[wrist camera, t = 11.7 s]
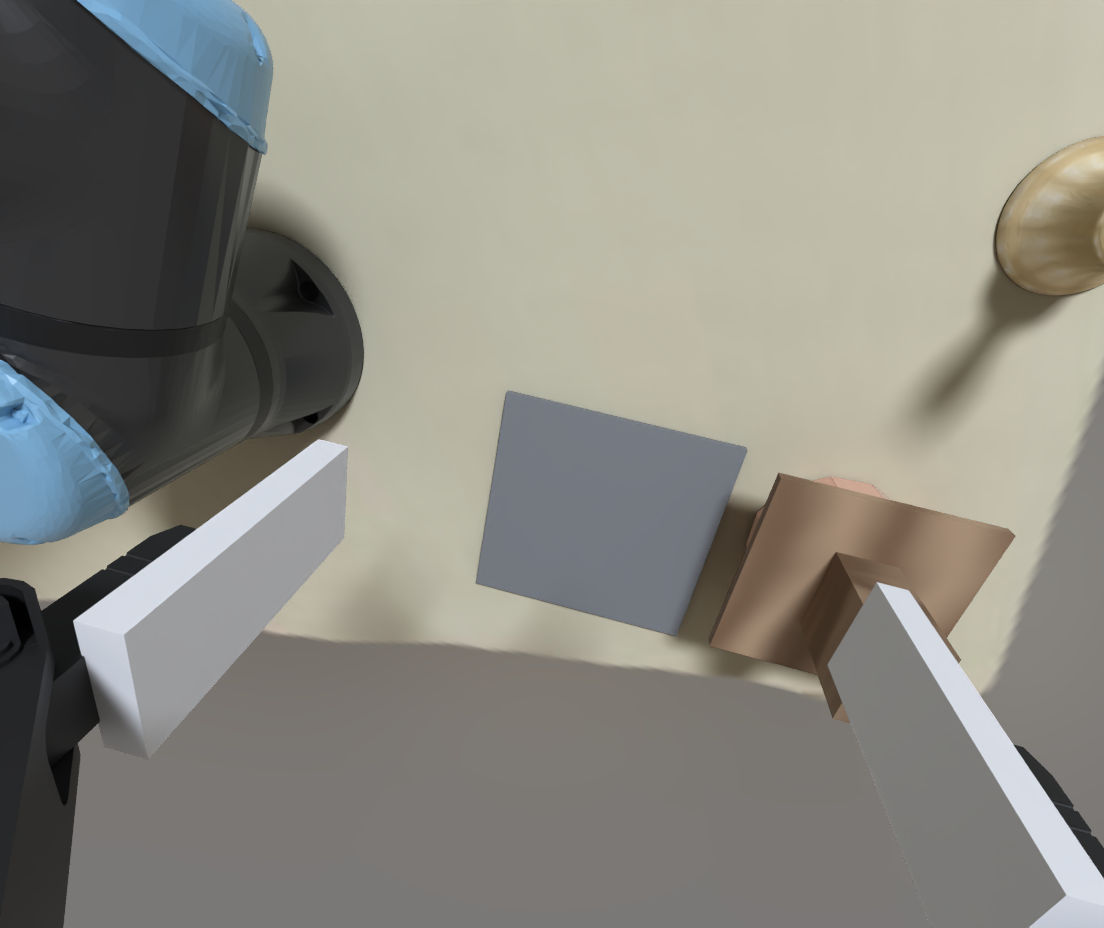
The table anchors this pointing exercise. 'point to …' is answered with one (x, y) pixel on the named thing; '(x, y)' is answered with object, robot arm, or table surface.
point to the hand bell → (1057, 223)
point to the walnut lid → (846, 573)
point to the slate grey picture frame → (603, 511)
